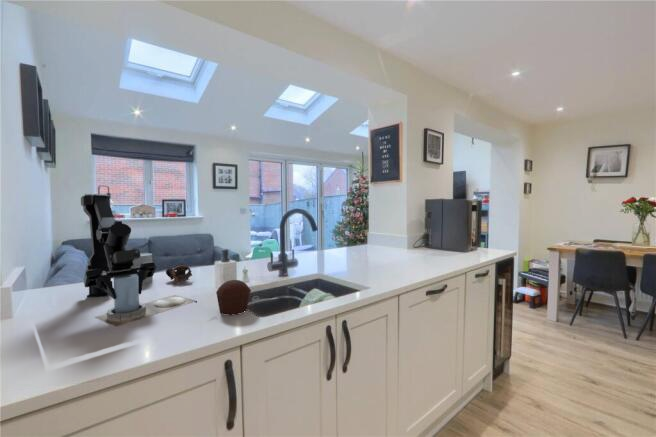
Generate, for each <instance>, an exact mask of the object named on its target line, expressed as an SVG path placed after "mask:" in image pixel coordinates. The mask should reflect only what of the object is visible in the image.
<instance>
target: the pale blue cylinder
mask: <svg viewBox="0 0 656 437" xmlns="http://www.w3.org/2000/svg"><path fill="white" fill-rule="evenodd" d="M113 288H114V291H115V295H116V299H113V300H114V301H113V302H114V309H115V314H123V313H129V312H133V311H137V310H139V303H140V294H139V281H138V275H123V276H118V277H115V278H113Z"/></svg>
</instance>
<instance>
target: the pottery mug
mask: <svg viewBox="0 0 656 437" xmlns="http://www.w3.org/2000/svg"><path fill="white" fill-rule="evenodd" d="M186 271H188V272H187V273H186ZM165 274H166V275H167V276H168V278H170V280H171V281H173V284H174V285H178V283H180V282H184V281H187V280H188V279H190V277H193V274H192V270H191V268H190V266H186V265H177V266H175V267H174V268H172V267H171V268H170V267H169V268H167V269H166V270H165Z"/></svg>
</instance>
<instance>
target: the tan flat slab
mask: <svg viewBox="0 0 656 437" xmlns="http://www.w3.org/2000/svg"><path fill="white" fill-rule="evenodd" d="M192 303H196V304H197V303H198V301H197V300H196V299H195V300H194V299H191V298H187V297H183V296H180V295H177V294H174V295H170V296H166V297H162V298H159V299H156V300H152V301H148V302H144V303H140V302H139V310H137V311H133V312H129V313H123V314H115V309H114V307H111V308H110V309H108V310H107V311H106V313H104V314H102V315H99V316H95V317H94V318H96V319H98V320H101V321H103V322H105V323H107V324H110V325H112V326H114V327H120V326H123V325H125V324H128V323H131V322H135V321H138V320H142V319H144V318H147V317H151V316H155V315H158V314H160V313H164V312H167V311H170V310H172V309H173V310H174V309H176V308H179V307H184V306H186V305H189V304H192Z"/></svg>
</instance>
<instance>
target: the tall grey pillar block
mask: <svg viewBox="0 0 656 437" xmlns="http://www.w3.org/2000/svg"><path fill="white" fill-rule="evenodd" d="M146 262H153V253H151V252H140V257H139V258H138V259H135V260H133V266H131V268H132V269H133V268H140V265H141V263H146ZM153 276H154V275H153ZM153 276H152V277H148V278H146V279H145V280H143V284H147V283H151V282H153V281H154V279H153ZM143 284H142V285H143Z"/></svg>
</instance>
